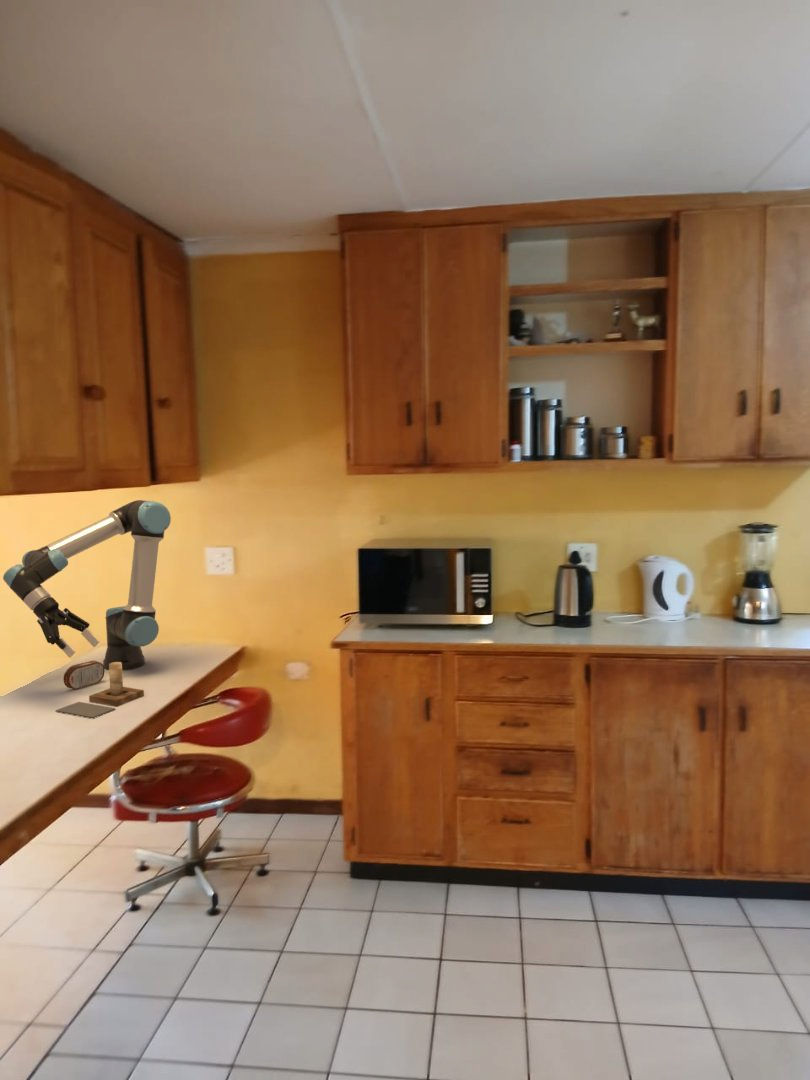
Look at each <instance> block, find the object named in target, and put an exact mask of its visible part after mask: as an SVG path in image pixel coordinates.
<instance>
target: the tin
mask: <svg viewBox="0 0 810 1080" xmlns="http://www.w3.org/2000/svg"><path fill="white" fill-rule="evenodd" d="M105 671H106V670H105V668H104V666H103V663H102V662H100V661H97V660H88V661H86V662H81V663H77V664H73V665H71V666H70V667H68V668H67V669H66V670H65V672H64V674H63V684H64V686H65V687H67V688H68V689H72V690H80V689H83V688H87V687H90V685H91V686H94V685H97V684H98V683H99V684H100V682H101V681H102V680H103V679H104V677H105ZM93 684H94V685H93Z"/></svg>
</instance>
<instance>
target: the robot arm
mask: <svg viewBox="0 0 810 1080" xmlns="http://www.w3.org/2000/svg"><path fill="white" fill-rule="evenodd" d="M171 519H172V516H171V512H170V511H169V509H168V508H167V507H166V506H165V505H164V504H163V503H162V502H158V501H155V500H144V499H143V500H140V499H139V500H133V501H131V502H128V503H127V504H124V505H122V506H121V507H118V508H117V509H114V510H112V511H111V512H109V514H108V516H106V517H104V518H101V519H99V520H98V521H95V522H94V523H91V524H89V525H87V526H85V527H82V528H80V529H78V530H76V531H73V532H72V533H70V534H68V535H66V536H63V537H61V538H59V539H57V540H55V541H53V542H51V543H49V544H47V545H45V546H43V547H40V548H38V549H33V550H29V551H27V552H25V553H24V555H23V556H22V558H21V559H22V560H21V563H22V564H19V563H18V564H15V565H13V566H11V567H10V568H8V569H7V570H6V571H5V572H4V574H3V575H2V576H3V577H2V580H3V581H4V583H6V585H7V586H8V587H9V588H10V590H11V591H12V592H13V593H14V594H15V595H16V596H17V597H18V598H19V599H20V600H21V601H22V602H23V603H24V604H25V605H26V606H27V607H28V608H29V609H30V611H33V612H32V613H33V614H34V615H35V616H36V617H37V621H36V622H37V624H38V625H39V626H40V629H41V630H42V632H43V636H44V637H45V640H46V643H48V644H51V645H52V646H54V645H55V644H56V645H57V647H58V648H59V649H60V650H61V651H63V652H64V654H65V655H66V656H67V657H68V658H72V656H73V655H74V654H76V650H75V648H73V647H72V645H70V643H68V641H67V640H66V639H65V638H64V637H62V636H60V631H59V629H60V628H59V626H67V627H69V628H72V629H74V630H76V631H78V632H81V633H80V634H81V636H82V637H84V639H86V641H87V642H88V643H89V644H90V645H91V646H92V647H93V648H96V646H97V645H98V644H99V643H100V639H98V638H97V636H95V635H94V634H93V632H92V631H91V630H90V629H89V627H90V623H89V622H87V621H86V620H84V619H83V618H81V617H80V616H78V615H76V614H75V613H73V612H71V610H69V609H68V608H67V607H65V608H64V609H63V610H61V609H59V606H60V604H59V602H57V601H56V600H55V599H54V597H52V596H51V594H50V593H49V592H48V591H47V589H45V588H44V586H42V584H43V583H45V582H47V581H48V580H49V579H51V578H52V577H54V576H55V575H57V574H59V573H60V572H62V571H63V570H64V569H65V568H67V566H68V565H69V560H68V559H69V558H70V559H71V558H72V557H73V556H76V555H78V554H80V553H82V552H84V551H86V550H88V549H90V548H92V547H95V546H96V545H98V544H100V543H102V542H105V541H108V540H109V539H111V538H113V537H115V536H117V535H121V536H123V535H126V534H127V533H130V536H131V538H133V540H134V544H133V545H134V546H133V554H132V563H131V572H130V582H129V590H128V591H129V592H128V598H127V599H128V600H127V604H126V605H125V606H117V607H112V608H108V609H106V611H105V624H106V625H105V627H106V643H107V644H106V645H107V647H106V651H105V655H104V659H103V661H102V662H103V663H102V664H103V666H104V669H106V670H109V664H110V663H113V662H121V663H122V671H124V670H123V669H125V670H131V669H130V668H132V669H136V668H139V667H138V666H140V667H141V665H142V664H144V663H146V658H145V655H144V653H143V650H142V647H146V646H148V645H150V644H152V643H153V642H154V641H155V640H156V639H157V637H158V635H159V630H160V627H159V624H158V622H157V620H156V609H155V607H154V606H153V602H154V601H153V598H154V590H155V582H156V581H155V580H156V572H157V563H158V562H157V561H158V553H159V544H160V542H161V541H162V540H164V538H165V531H166V530H167V529H168V528H169V527H170V525H171ZM142 666H143V665H142ZM135 667H136V668H135Z"/></svg>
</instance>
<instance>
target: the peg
mask: <svg viewBox="0 0 810 1080" xmlns="http://www.w3.org/2000/svg"><path fill="white" fill-rule="evenodd" d="M108 674H109V688H110V695H111V696H119V695H122V694H123V687H124V684H123V682H124V681H123V679H124V678H123V670H122V663H121V662H113V663H110V664H109V669H108Z"/></svg>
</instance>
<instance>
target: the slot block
mask: <svg viewBox="0 0 810 1080" xmlns="http://www.w3.org/2000/svg"><path fill="white" fill-rule="evenodd" d="M139 697H140V698H141V697H145V690H144V689H140V688H133V687H127V686H123V694H122V695H119V696H111V695H110V687H109V688H107V689H105V690H102V691H98V692H96V693H93V694H91V695H89V696H88V699H89V702H90V703H94V702H95V703H96V704H99V703H100V704H101V705H105V706H106V705H107V706H110V707H111V706H113V707H115V708H116V707H120V706H122V705H124V704H126V703H129V702H132V701H134V699H135V700H136V699H140V698H139ZM89 702H88V703H89Z"/></svg>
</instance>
